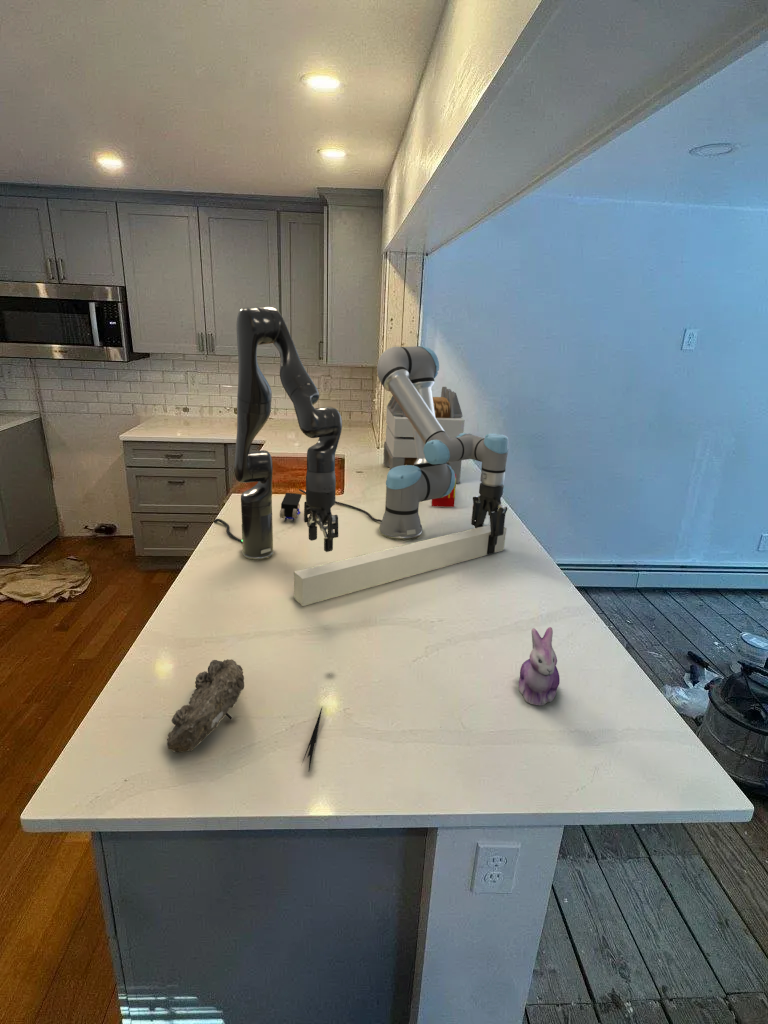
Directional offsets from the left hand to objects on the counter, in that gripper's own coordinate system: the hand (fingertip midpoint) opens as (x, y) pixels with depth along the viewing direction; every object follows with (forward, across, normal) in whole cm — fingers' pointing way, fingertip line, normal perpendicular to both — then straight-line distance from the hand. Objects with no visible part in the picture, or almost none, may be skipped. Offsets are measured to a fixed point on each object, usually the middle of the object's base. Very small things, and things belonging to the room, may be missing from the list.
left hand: (320, 545), depth 149 cm
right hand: (+15, 0, +62) cm, 63 cm away
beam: (+15, 0, +31) cm, 34 cm away
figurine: (+15, +60, +19) cm, 65 cm away
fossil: (+15, +32, -41) cm, 54 cm away
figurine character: (+15, -59, +20) cm, 64 cm away
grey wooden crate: (+15, -85, +101) cm, 133 cm away
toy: (+15, -53, +86) cm, 102 cm away
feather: (+15, +43, -24) cm, 51 cm away
